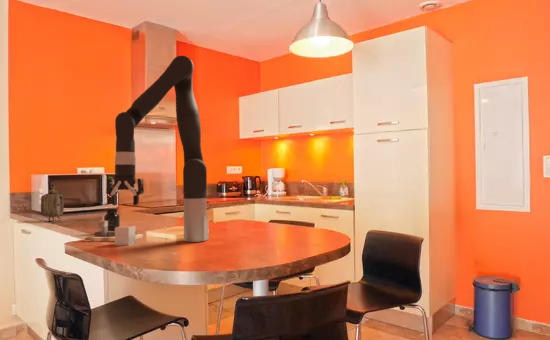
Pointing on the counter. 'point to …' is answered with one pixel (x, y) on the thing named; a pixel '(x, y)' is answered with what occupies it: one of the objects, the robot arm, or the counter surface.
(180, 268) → the counter surface
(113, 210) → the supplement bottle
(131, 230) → the grey block
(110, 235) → the ratchet board
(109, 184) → the robot arm
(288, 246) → the counter surface
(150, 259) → the counter surface
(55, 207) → the tabletop clock
